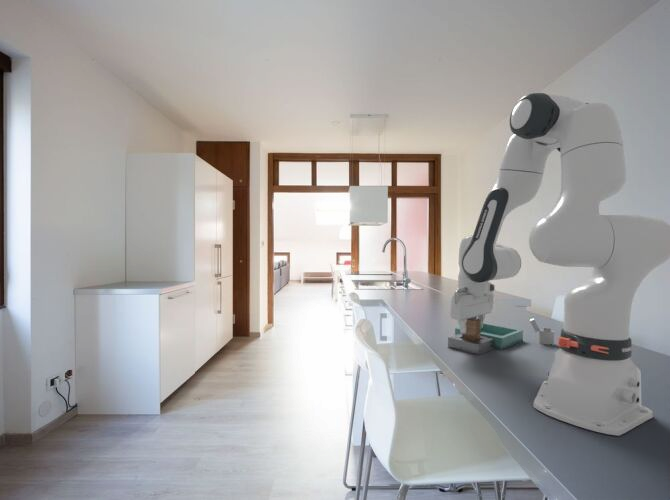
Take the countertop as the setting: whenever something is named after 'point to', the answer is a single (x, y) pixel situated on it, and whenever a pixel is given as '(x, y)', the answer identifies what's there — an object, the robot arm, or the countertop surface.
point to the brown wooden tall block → (472, 329)
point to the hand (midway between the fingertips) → (471, 330)
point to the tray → (499, 335)
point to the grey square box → (471, 344)
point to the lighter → (543, 333)
